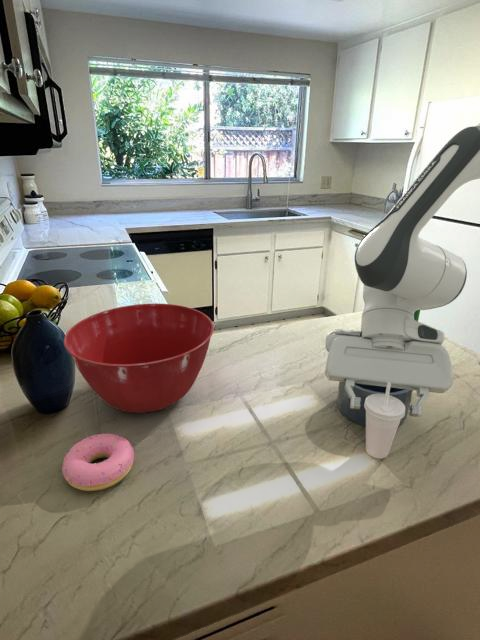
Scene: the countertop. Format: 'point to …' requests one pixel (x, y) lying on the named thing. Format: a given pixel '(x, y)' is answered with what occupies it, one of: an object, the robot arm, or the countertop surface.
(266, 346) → the countertop surface
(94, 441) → the doughnut
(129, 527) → the countertop surface
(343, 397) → the pot
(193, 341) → the mixing bowl
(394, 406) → the smoothie
